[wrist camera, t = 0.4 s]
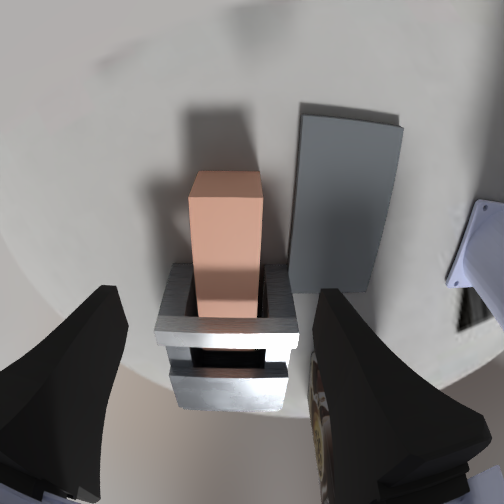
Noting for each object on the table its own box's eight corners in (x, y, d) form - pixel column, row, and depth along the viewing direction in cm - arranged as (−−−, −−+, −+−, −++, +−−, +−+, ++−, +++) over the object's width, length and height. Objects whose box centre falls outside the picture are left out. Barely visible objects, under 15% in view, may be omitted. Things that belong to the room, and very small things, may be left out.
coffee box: (308, 351, 27) (336, 531, 13) (377, 341, 27) (427, 506, 13) (305, 400, 32) (322, 538, 18) (361, 392, 32) (391, 523, 18)
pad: (399, 125, 16) (403, 128, 16) (363, 286, 23) (365, 292, 22) (301, 113, 16) (303, 115, 15) (284, 287, 23) (285, 293, 22)
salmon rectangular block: (259, 170, 18) (263, 198, 15) (253, 310, 24) (254, 351, 21) (199, 169, 18) (188, 197, 15) (207, 309, 24) (202, 350, 21)
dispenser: (286, 264, 22) (299, 333, 16) (274, 363, 28) (279, 423, 22) (172, 263, 21) (153, 330, 16) (189, 362, 27) (181, 421, 22)
